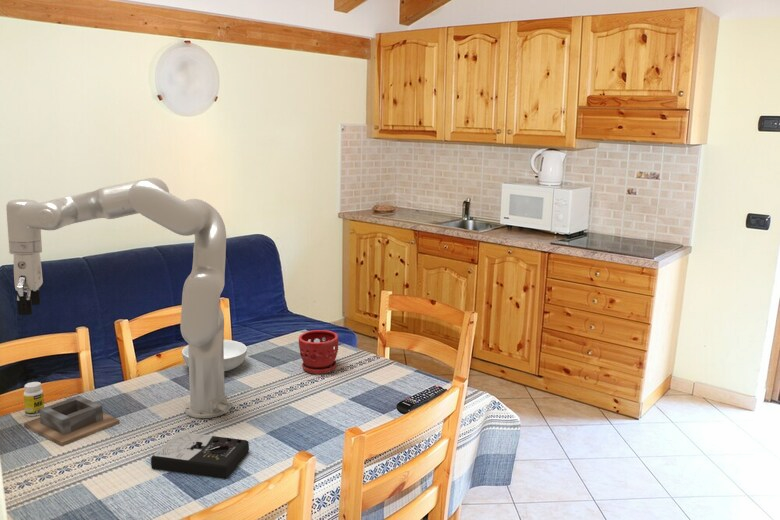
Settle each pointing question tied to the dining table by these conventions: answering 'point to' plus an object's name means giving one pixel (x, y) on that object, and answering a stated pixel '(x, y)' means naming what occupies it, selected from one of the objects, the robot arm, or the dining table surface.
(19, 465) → the dining table surface
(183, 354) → the serving bowl
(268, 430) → the dining table surface
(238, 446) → the multimeter
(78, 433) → the pocket board
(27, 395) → the supplement bottle
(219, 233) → the robot arm
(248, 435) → the dining table surface
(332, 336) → the plant pot
